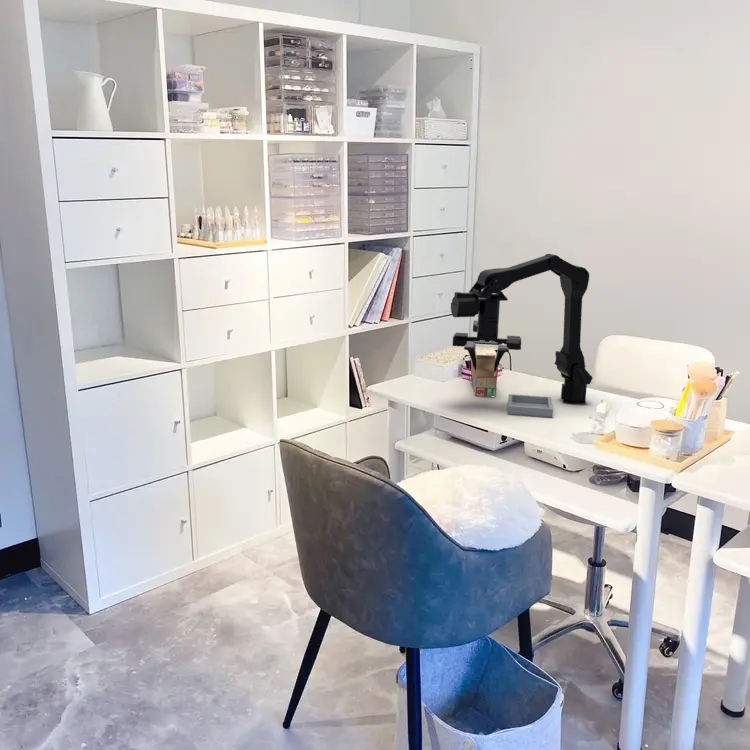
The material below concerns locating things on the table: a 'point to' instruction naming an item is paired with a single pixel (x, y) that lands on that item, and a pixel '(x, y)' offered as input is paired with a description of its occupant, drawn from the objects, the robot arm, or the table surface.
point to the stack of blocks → (484, 384)
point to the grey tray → (530, 406)
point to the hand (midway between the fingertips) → (485, 371)
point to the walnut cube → (485, 366)
